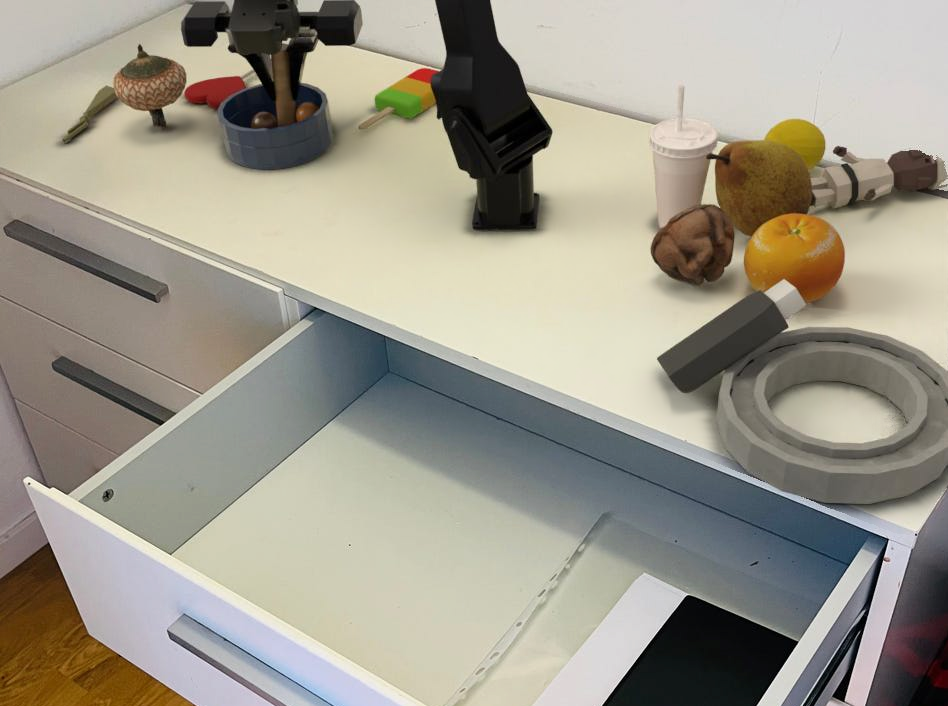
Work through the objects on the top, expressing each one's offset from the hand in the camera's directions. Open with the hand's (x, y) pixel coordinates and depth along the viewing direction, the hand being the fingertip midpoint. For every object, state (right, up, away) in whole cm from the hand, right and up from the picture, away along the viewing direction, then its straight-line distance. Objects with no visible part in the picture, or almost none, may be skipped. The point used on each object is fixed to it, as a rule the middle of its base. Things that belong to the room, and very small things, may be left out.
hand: (284, 99), depth 132 cm
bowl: (-1, -4, +1) cm, 5 cm away
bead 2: (+3, -1, +1) cm, 3 cm away
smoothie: (+42, -18, -16) cm, 48 cm away
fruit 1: (+51, -10, -13) cm, 53 cm away
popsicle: (+13, +1, +6) cm, 14 cm away
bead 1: (-2, -3, 0) cm, 4 cm away
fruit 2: (+52, -18, -18) cm, 57 cm away
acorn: (-15, -2, +6) cm, 17 cm away
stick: (0, -2, +2) cm, 3 cm away
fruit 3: (+50, -27, -25) cm, 62 cm away
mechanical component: (+50, -40, -39) cm, 75 cm away
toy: (+53, -15, -16) cm, 58 cm away
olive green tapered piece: (-25, +1, +9) cm, 26 cm away
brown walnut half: (+43, -25, -27) cm, 56 cm away
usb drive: (+42, -31, -37) cm, 64 cm away
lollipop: (-7, +7, +14) cm, 17 cm away
